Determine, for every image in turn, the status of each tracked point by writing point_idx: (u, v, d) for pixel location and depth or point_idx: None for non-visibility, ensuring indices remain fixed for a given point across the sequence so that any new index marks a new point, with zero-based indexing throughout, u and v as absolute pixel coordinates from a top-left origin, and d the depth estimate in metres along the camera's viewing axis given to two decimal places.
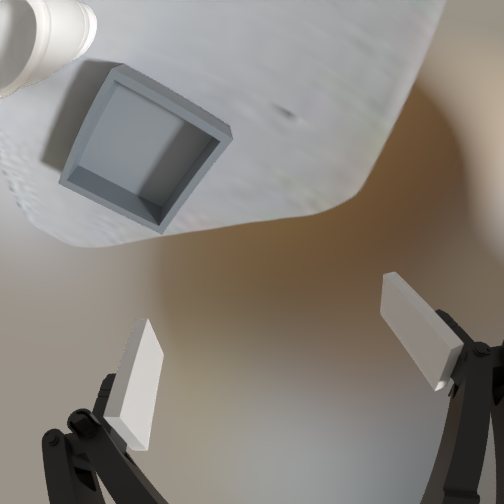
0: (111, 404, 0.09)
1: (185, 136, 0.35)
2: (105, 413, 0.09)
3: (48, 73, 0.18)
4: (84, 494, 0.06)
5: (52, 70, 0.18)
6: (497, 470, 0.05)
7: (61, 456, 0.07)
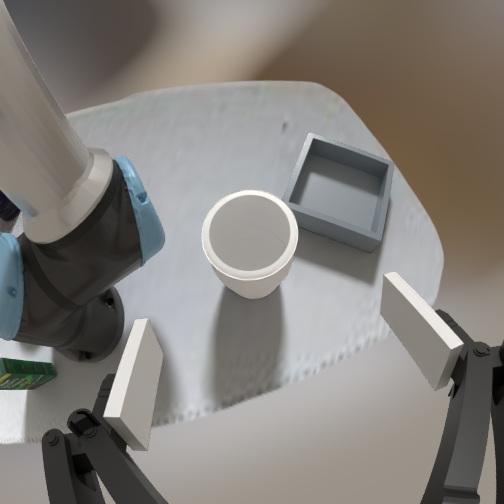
0: (111, 404, 0.09)
1: (322, 170, 0.51)
2: (105, 413, 0.09)
3: (282, 220, 0.37)
4: (84, 494, 0.06)
5: (280, 219, 0.37)
6: (497, 470, 0.05)
7: (61, 456, 0.07)
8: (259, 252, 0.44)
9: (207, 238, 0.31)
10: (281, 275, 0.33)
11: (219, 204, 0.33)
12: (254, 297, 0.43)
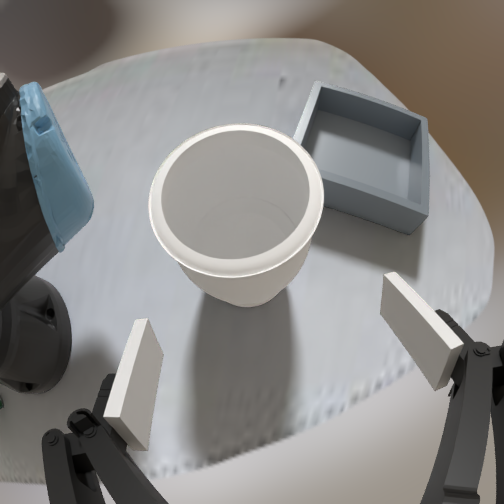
0: (111, 404, 0.09)
1: (335, 129, 0.36)
2: (105, 413, 0.09)
3: (289, 180, 0.22)
4: (84, 494, 0.06)
5: (285, 178, 0.23)
6: (497, 470, 0.05)
7: (61, 456, 0.07)
8: (254, 236, 0.29)
9: (158, 203, 0.16)
10: (294, 267, 0.19)
11: (182, 148, 0.18)
12: (249, 305, 0.28)
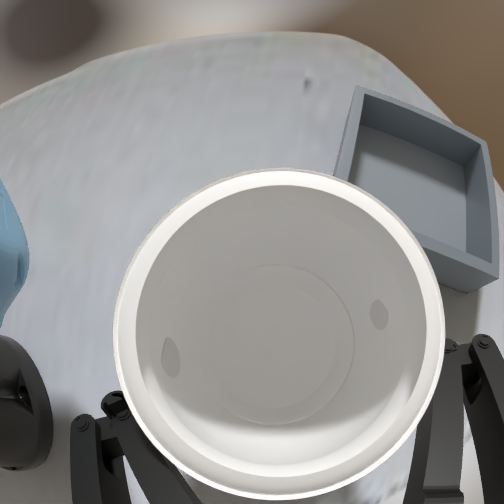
0: None
1: (379, 150, 0.27)
2: None
3: (354, 257, 0.13)
4: (109, 482, 0.07)
5: (347, 253, 0.14)
6: (480, 468, 0.06)
7: (90, 442, 0.08)
8: (284, 314, 0.20)
9: (131, 353, 0.08)
10: (365, 417, 0.10)
11: (172, 222, 0.09)
12: None
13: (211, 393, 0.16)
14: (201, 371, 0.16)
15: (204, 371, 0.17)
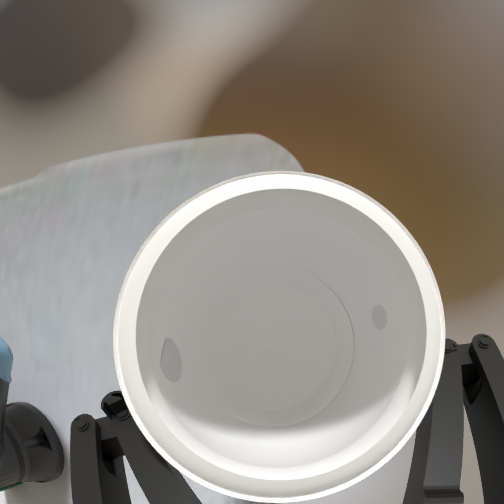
0: None
1: None
2: None
3: (355, 259, 0.13)
4: (109, 482, 0.07)
5: (348, 256, 0.14)
6: (480, 468, 0.06)
7: (90, 442, 0.08)
8: (285, 316, 0.20)
9: (131, 357, 0.08)
10: (365, 420, 0.10)
11: (172, 225, 0.09)
12: None
13: (211, 395, 0.16)
14: (201, 373, 0.16)
15: (204, 373, 0.16)
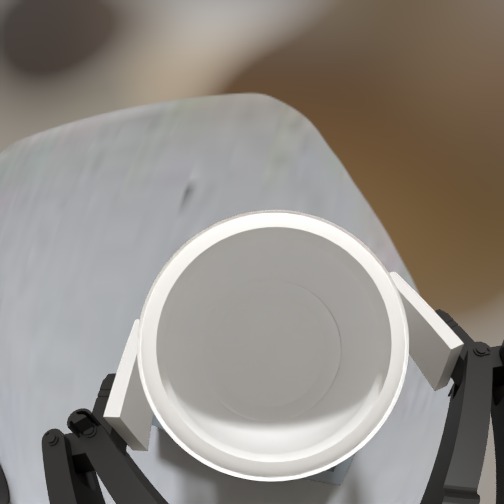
0: (111, 404, 0.09)
1: None
2: (105, 413, 0.09)
3: (339, 277, 0.16)
4: (84, 494, 0.06)
5: (333, 273, 0.16)
6: (497, 470, 0.05)
7: (61, 456, 0.07)
8: (279, 322, 0.22)
9: (153, 366, 0.10)
10: (346, 416, 0.12)
11: (183, 258, 0.11)
12: None
13: (214, 394, 0.18)
14: (205, 374, 0.18)
15: (208, 374, 0.19)
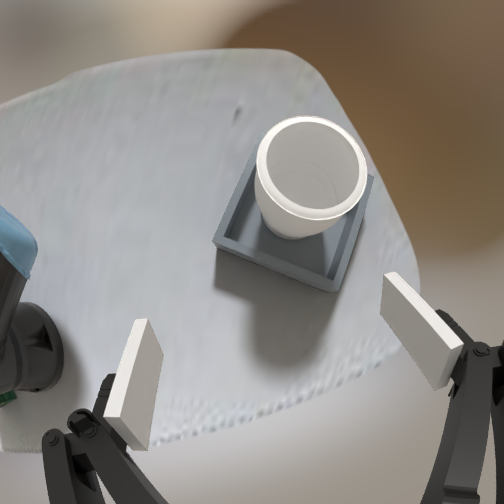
0: (111, 404, 0.09)
1: None
2: (105, 413, 0.09)
3: (336, 154, 0.30)
4: (84, 494, 0.06)
5: (333, 153, 0.31)
6: (497, 470, 0.05)
7: (61, 456, 0.07)
8: (300, 188, 0.38)
9: (264, 168, 0.25)
10: (341, 215, 0.29)
11: (276, 129, 0.26)
12: (293, 238, 0.39)
13: (266, 218, 0.34)
14: None
15: None
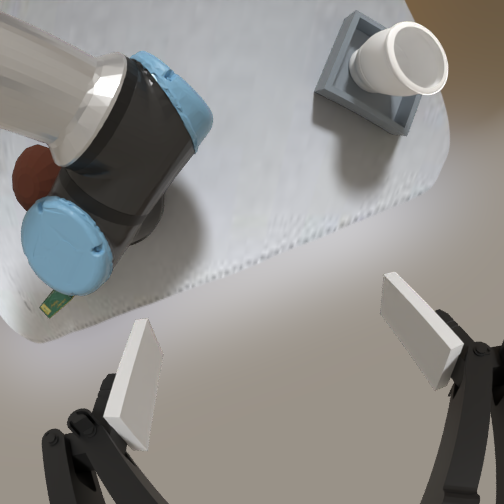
0: (111, 404, 0.09)
1: (360, 45, 0.38)
2: (105, 413, 0.09)
3: (420, 46, 0.30)
4: (84, 494, 0.06)
5: (418, 44, 0.30)
6: (497, 470, 0.05)
7: (61, 456, 0.07)
8: None
9: (393, 53, 0.26)
10: None
11: (397, 28, 0.25)
12: (373, 92, 0.41)
13: (365, 78, 0.36)
14: (361, 69, 0.35)
15: None
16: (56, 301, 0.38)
